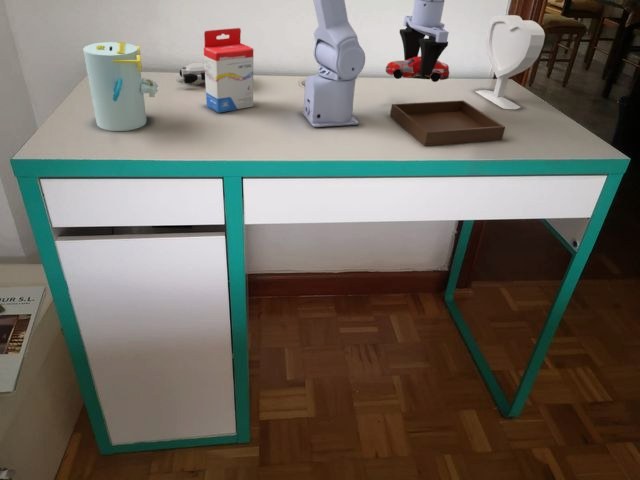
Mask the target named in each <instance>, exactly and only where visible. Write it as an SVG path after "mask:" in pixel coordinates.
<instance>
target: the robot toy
mask: <svg viewBox="0 0 640 480" xmlns="http://www.w3.org/2000/svg"><path fill="white" fill-rule="evenodd" d="M175 80H176V82H178V83H183V82H184V84H186V85H187V84H192V85H193V86H199V85H200V84H206V82H205V64H204V62H192V63H189V64H187V65H184V66H182V68H181V69H180V70H179V76H178V77H176V78H175Z"/></svg>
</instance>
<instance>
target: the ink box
mask: <svg viewBox="0 0 640 480" xmlns="http://www.w3.org/2000/svg"><path fill="white" fill-rule="evenodd" d="M241 33H242V30H241V27H233V28H222V29H220V28H219V29H210V30H204V32H203V38H204V39H203V40H204V47H203V60H204V62H203V63H204V64H205V82H206V83H205V100H206V106H207V107H208V108H210V109H211V110H213V111H215V112H216V113H218V114H220V113H225V112H232V111H236V110H242V109H247V108H252V107H254V48H253V47H251V46H249V45H246V44H244V43H242V42H241ZM222 35H224V36H228V37H226V38H217V37H219V36H222Z"/></svg>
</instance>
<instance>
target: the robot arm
mask: <svg viewBox="0 0 640 480" xmlns="http://www.w3.org/2000/svg"><path fill="white" fill-rule="evenodd" d="M312 1H313V7H314V12H315V15H316V19H317V24H318V25H317V27H316V29H315V30H314V31H313V36H314V46H313V57H314V60H315V61H316V63H317V64H318V69H317V70H318V73H316V74H312V75H308V76H306V79H305V82H304V93H303V110H302V113H301V114H302V115H303V116H304V117H305V118H306V119H307V121H308V122H309V124H311V126H312V127H313V128H326V127H338V126H339V127H340V126H356V125H359V124H360V122H359V121H358V119H357V118H355V117H354V116H353V108H354V99H355V89H356V80H358V76H359V75H360V73H361V72H362V71H363V69H364V67H365V64H366V53H365V51H364V49H363V47H361V45H360V42H359V40H358V34H357V33H356V31H355V30H354V28H353V27H352V25H351V23H350V22H349V17H348V12H347V7H346V2H345V0H312ZM445 1H446V0H414V1H413V9H412V15H404V16H403V17H404V18H403V24H402V26H404V27H405V28H401V29H399V35H400V38H401V41H402V47H403V57H404V60H408V59H409V58H410V59H411V58H413V57H418V56H419V53H420V56H421V65H420V75H422V76H426V75H431V73H432V71H433V68H434V66H435V64H436V62H437V60H438V61H439V59H440V56H441V55H442V53H443V52H444V51H445V49H446V48H447V47H448V46H449V41H448V38H449V31H447V30H446V29H445V27H446V26H445V23H443V22H441V21H442V18H443V17H442V16H443V12H444V5H445ZM426 36H427V37H428V38H426ZM404 60H403V61H404Z"/></svg>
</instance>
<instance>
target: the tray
mask: <svg viewBox="0 0 640 480" xmlns="http://www.w3.org/2000/svg"><path fill="white" fill-rule="evenodd" d="M389 117H390V118H391V119H392V120H393V121H394V122H396V123H397V124H398V125H399V126H400V127H402V128H403V129H404V130H405V131H406V132H407V133H409V135H410V136H412V137H413V138H414V139H416V141H418V142H419V143H420V144H421V145H423V146H424V147H428V146H429V147H430V146H442V145H454V144H466V143H467V144H468V143H478V142H479V143H480V142H481V143H482V142H490V141H491V142H492V141H501V140H503V137H504V133H505V129H506V125H503V124H502V123H500V122H499V121H497V120H496V119H493V118H492V117H491V116H489V115H488V114H486V113H484V112H483V111H481V110H480V109H478V108H476V107H475V106H473V105H471V104H470V103H468V102H467V101H465V100H447V101H446V100H445V101H425V102H409V103H408V102H406V103H392V104H391V105H390V113H389Z"/></svg>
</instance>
